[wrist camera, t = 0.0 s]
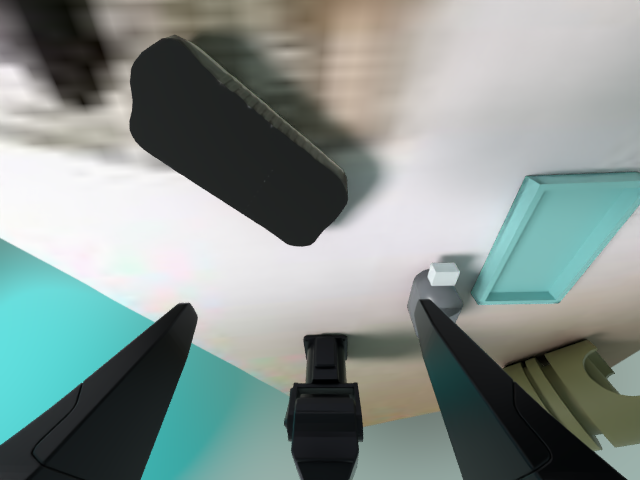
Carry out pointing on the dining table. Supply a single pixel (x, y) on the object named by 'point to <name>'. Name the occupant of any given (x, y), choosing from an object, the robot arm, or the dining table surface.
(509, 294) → the tray
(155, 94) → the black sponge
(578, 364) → the piston
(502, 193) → the dining table surface
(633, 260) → the dining table surface
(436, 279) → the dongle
